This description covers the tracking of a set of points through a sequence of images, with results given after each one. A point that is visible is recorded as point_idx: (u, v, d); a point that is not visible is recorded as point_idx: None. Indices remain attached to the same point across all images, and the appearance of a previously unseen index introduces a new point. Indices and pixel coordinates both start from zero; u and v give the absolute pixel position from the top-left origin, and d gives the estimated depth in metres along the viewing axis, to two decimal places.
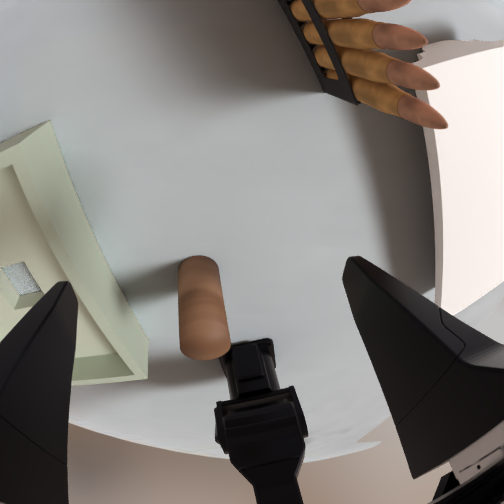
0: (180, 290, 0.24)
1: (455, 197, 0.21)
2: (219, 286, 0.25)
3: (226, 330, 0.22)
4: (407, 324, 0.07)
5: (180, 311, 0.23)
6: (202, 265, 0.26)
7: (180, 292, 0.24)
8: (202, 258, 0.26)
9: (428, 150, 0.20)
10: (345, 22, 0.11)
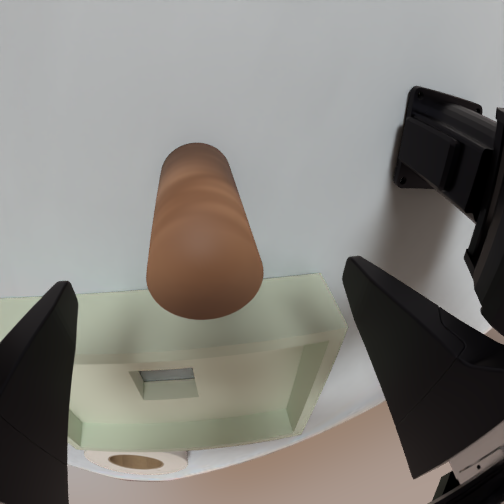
0: None
1: None
2: (181, 167, 0.12)
3: (180, 224, 0.09)
4: (407, 324, 0.07)
5: None
6: (160, 176, 0.14)
7: None
8: (162, 168, 0.15)
9: None
10: None
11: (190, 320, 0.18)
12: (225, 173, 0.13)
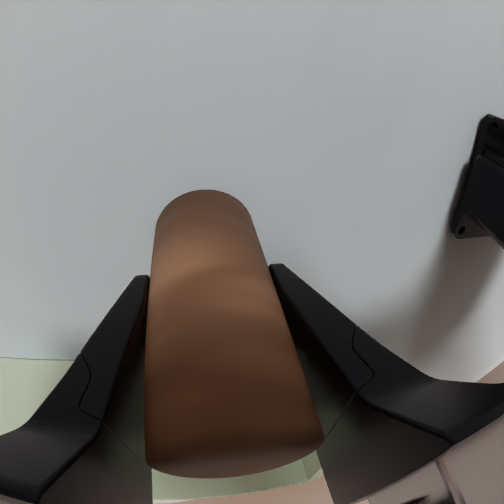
0: None
1: None
2: (185, 244, 0.08)
3: (194, 404, 0.05)
4: (312, 344, 0.07)
5: None
6: (154, 242, 0.10)
7: None
8: (156, 226, 0.11)
9: None
10: None
11: None
12: (253, 252, 0.09)
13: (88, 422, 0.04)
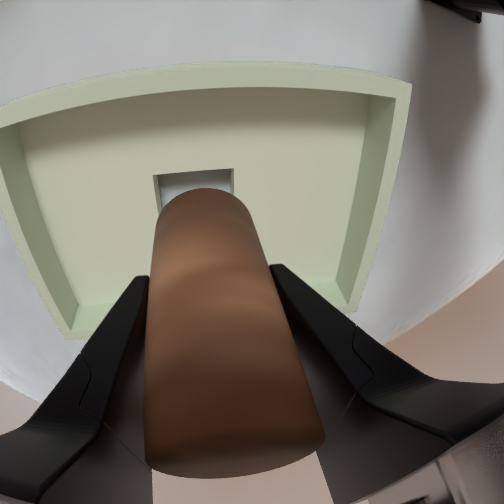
0: None
1: None
2: (185, 242, 0.08)
3: (194, 404, 0.05)
4: (312, 344, 0.07)
5: None
6: (154, 241, 0.10)
7: None
8: (156, 225, 0.11)
9: None
10: None
11: (245, 64, 0.14)
12: (254, 251, 0.09)
13: (88, 422, 0.04)
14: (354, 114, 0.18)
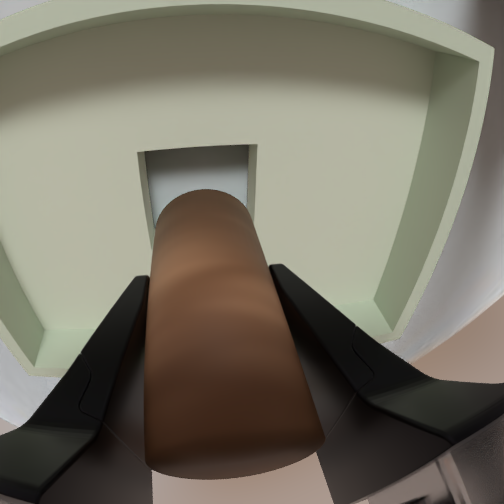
0: None
1: None
2: (185, 244, 0.08)
3: (194, 406, 0.05)
4: (312, 344, 0.07)
5: None
6: (154, 242, 0.10)
7: None
8: (156, 226, 0.11)
9: None
10: None
11: None
12: (254, 252, 0.09)
13: (87, 422, 0.04)
14: (417, 82, 0.12)
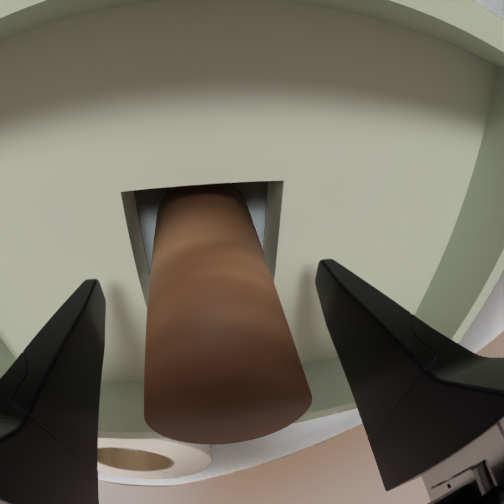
0: None
1: None
2: (184, 223, 0.09)
3: (190, 356, 0.05)
4: (375, 332, 0.07)
5: None
6: (156, 225, 0.11)
7: None
8: (158, 211, 0.11)
9: None
10: None
11: None
12: (247, 231, 0.09)
13: (17, 415, 0.04)
14: (475, 103, 0.09)
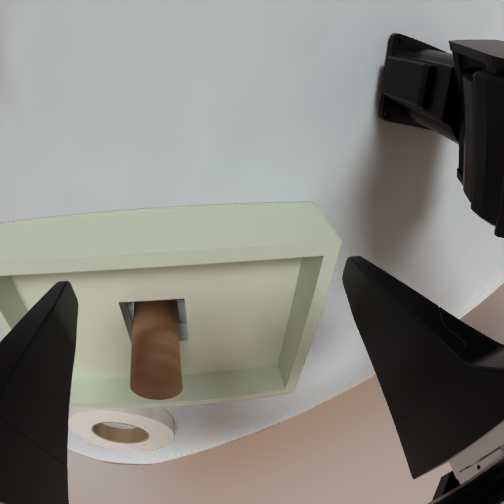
0: None
1: None
2: (144, 317, 0.22)
3: (143, 367, 0.19)
4: (407, 324, 0.07)
5: None
6: (134, 310, 0.24)
7: None
8: (135, 302, 0.24)
9: None
10: None
11: (187, 229, 0.18)
12: (169, 320, 0.23)
13: None
14: None
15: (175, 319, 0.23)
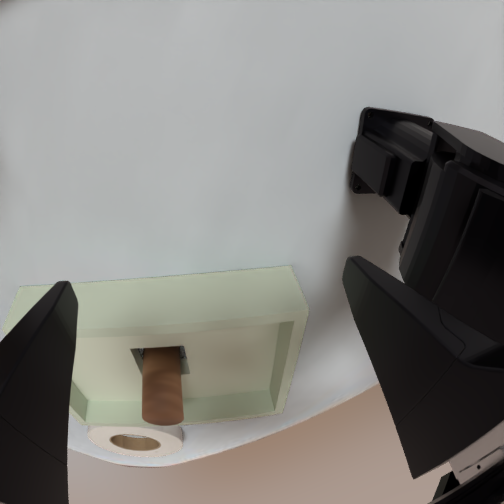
0: None
1: None
2: (151, 360, 0.26)
3: (151, 404, 0.23)
4: (407, 324, 0.07)
5: None
6: (143, 352, 0.28)
7: None
8: None
9: None
10: None
11: (180, 301, 0.22)
12: (172, 362, 0.27)
13: None
14: None
15: (177, 360, 0.28)
